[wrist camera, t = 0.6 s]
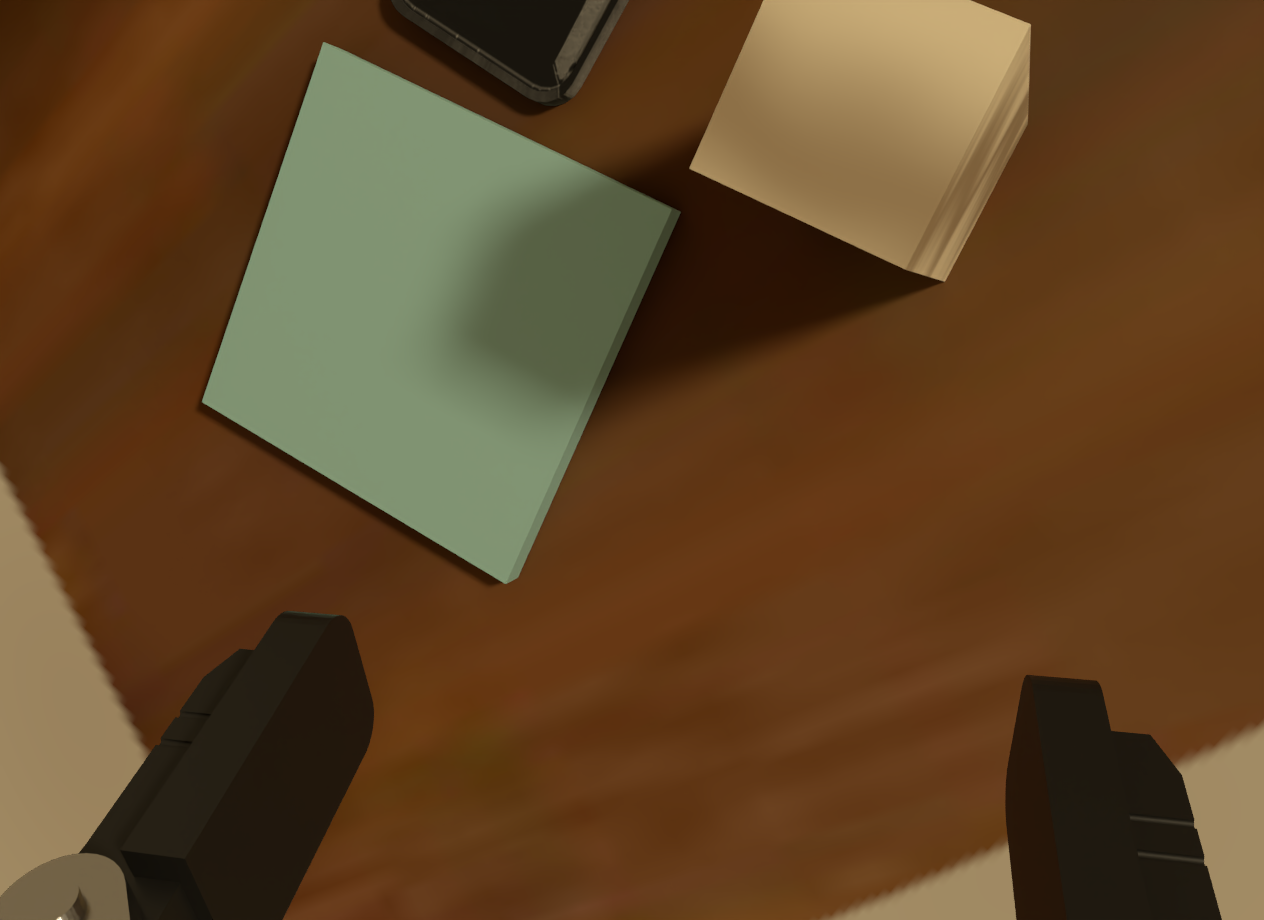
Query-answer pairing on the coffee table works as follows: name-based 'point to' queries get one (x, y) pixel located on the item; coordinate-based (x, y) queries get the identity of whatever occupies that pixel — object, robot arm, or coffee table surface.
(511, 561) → the green square tile
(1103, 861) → the robot arm
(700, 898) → the coffee table surface
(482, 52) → the phone
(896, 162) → the birch block
